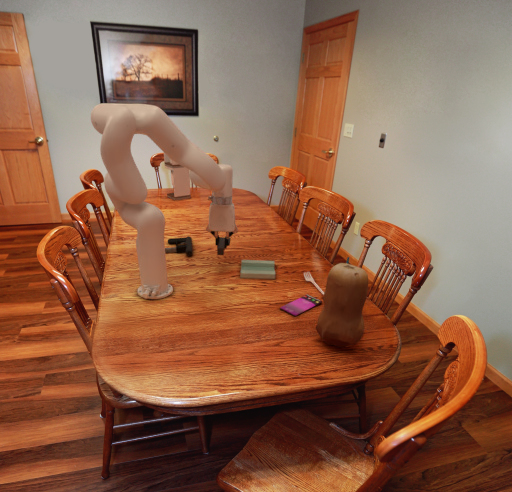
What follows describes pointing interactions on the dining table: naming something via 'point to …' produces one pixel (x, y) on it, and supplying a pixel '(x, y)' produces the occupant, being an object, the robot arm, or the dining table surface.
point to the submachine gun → (181, 248)
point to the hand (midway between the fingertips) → (222, 246)
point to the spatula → (222, 246)
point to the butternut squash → (343, 306)
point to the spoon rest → (257, 269)
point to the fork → (312, 281)
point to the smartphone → (301, 305)
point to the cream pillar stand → (178, 179)
